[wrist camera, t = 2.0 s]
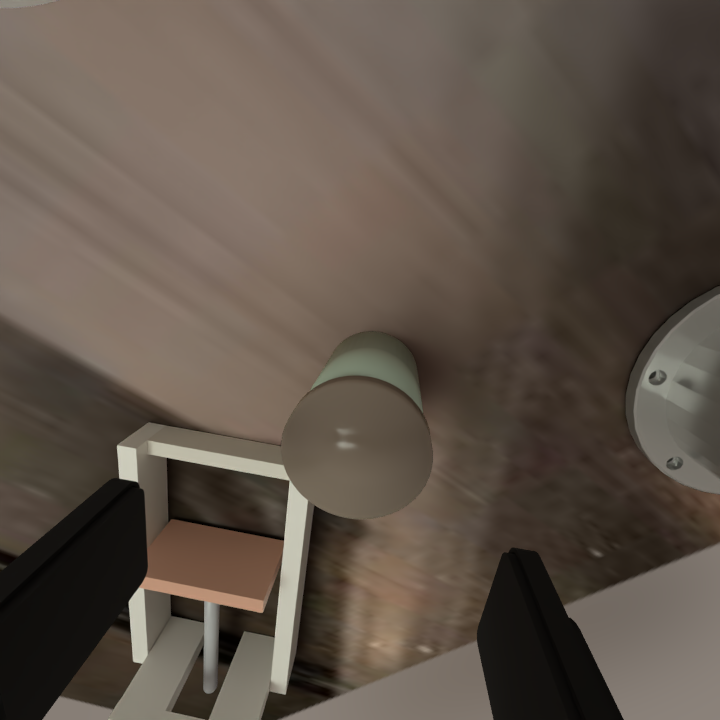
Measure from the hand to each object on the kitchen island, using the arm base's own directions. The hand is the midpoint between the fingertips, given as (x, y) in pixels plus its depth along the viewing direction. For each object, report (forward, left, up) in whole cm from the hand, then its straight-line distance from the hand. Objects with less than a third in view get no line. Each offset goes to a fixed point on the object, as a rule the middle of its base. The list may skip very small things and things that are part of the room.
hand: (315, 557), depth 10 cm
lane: (+8, +15, -14) cm, 22 cm away
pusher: (+8, +20, -13) cm, 25 cm away
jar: (0, 0, -14) cm, 14 cm away
